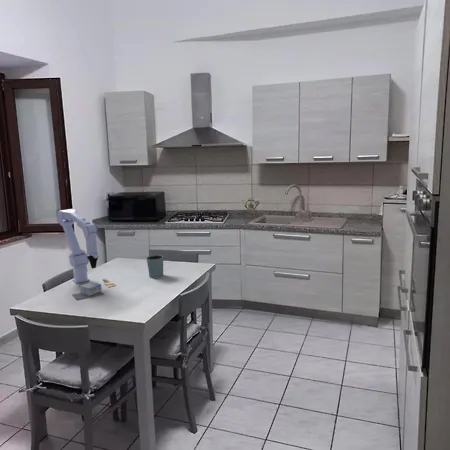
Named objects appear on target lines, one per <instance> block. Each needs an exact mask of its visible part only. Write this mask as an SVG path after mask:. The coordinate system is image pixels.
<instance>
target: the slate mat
mask: <svg viewBox="0 0 450 450" xmlns="http://www.w3.org/2000/svg"><path fill="white" fill-rule="evenodd" d="M102 295H104V293H103V292H99V293H97V294H94V295H91V296H88V295H85V294H81V293H80V292H77V293H73V294H72V297H74V298H75V300H77V301H79V300H84V299H89V298H93V297H97V296H102Z"/></svg>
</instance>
